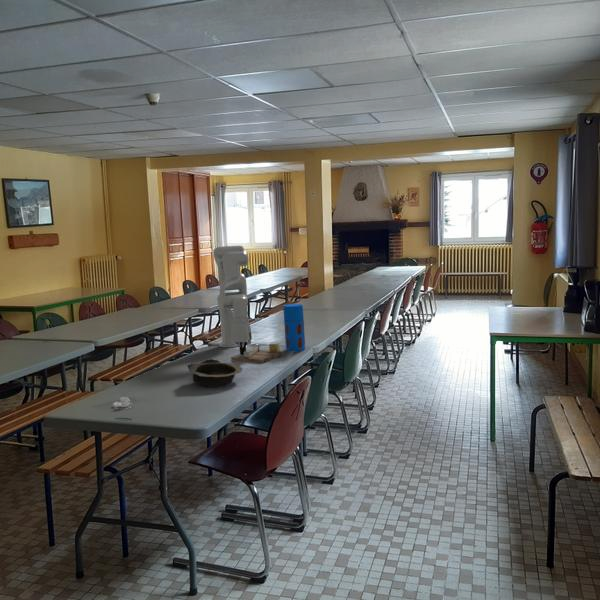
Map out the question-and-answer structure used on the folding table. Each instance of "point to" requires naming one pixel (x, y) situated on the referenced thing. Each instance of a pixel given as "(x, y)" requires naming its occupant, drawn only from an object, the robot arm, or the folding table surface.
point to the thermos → (294, 327)
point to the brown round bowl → (213, 373)
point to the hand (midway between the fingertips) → (243, 354)
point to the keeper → (274, 347)
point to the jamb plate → (258, 356)
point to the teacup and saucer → (122, 402)
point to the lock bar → (251, 350)
